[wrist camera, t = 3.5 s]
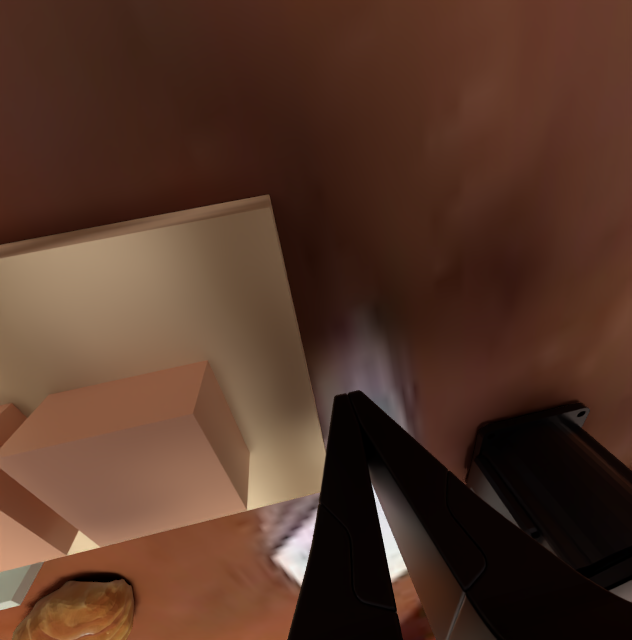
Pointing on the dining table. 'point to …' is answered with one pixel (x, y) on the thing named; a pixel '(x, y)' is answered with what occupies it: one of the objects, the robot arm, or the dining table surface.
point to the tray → (16, 584)
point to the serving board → (169, 326)
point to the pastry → (81, 613)
